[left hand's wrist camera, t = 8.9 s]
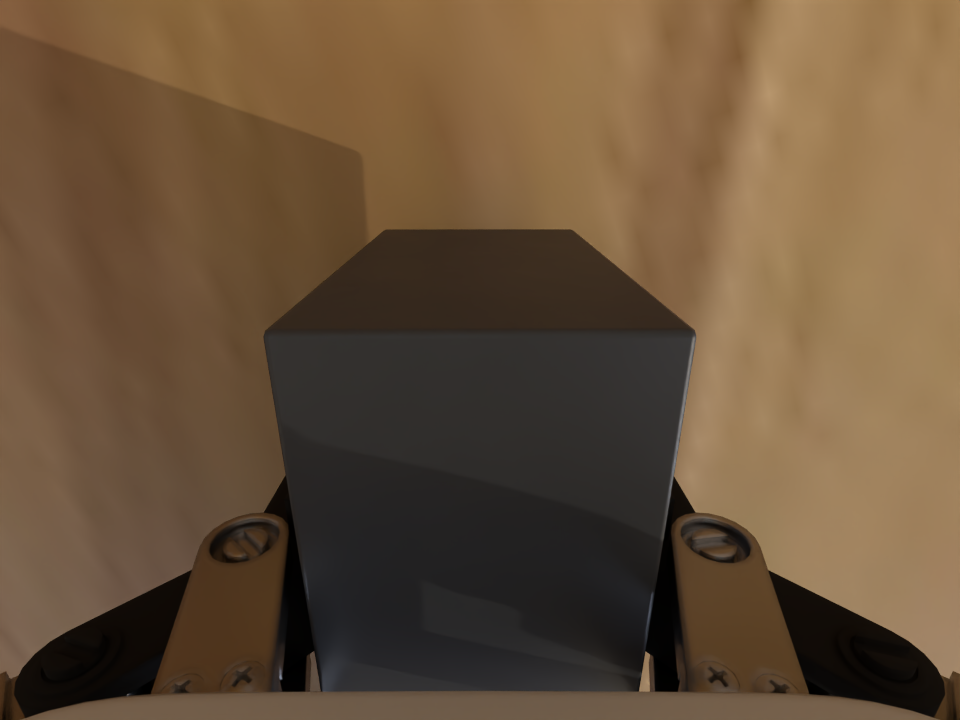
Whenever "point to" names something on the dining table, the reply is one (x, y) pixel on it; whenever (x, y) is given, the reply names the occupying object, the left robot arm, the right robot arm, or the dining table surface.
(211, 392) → the dining table surface
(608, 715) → the left robot arm
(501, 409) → the beam
